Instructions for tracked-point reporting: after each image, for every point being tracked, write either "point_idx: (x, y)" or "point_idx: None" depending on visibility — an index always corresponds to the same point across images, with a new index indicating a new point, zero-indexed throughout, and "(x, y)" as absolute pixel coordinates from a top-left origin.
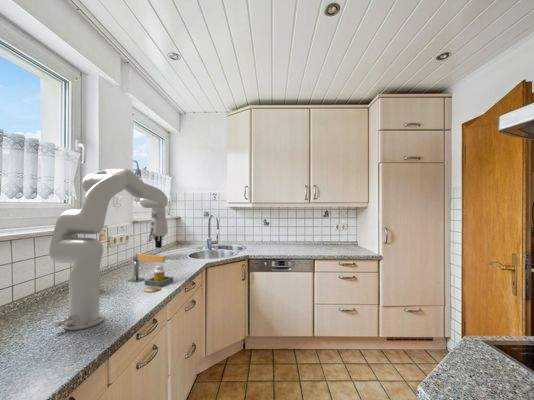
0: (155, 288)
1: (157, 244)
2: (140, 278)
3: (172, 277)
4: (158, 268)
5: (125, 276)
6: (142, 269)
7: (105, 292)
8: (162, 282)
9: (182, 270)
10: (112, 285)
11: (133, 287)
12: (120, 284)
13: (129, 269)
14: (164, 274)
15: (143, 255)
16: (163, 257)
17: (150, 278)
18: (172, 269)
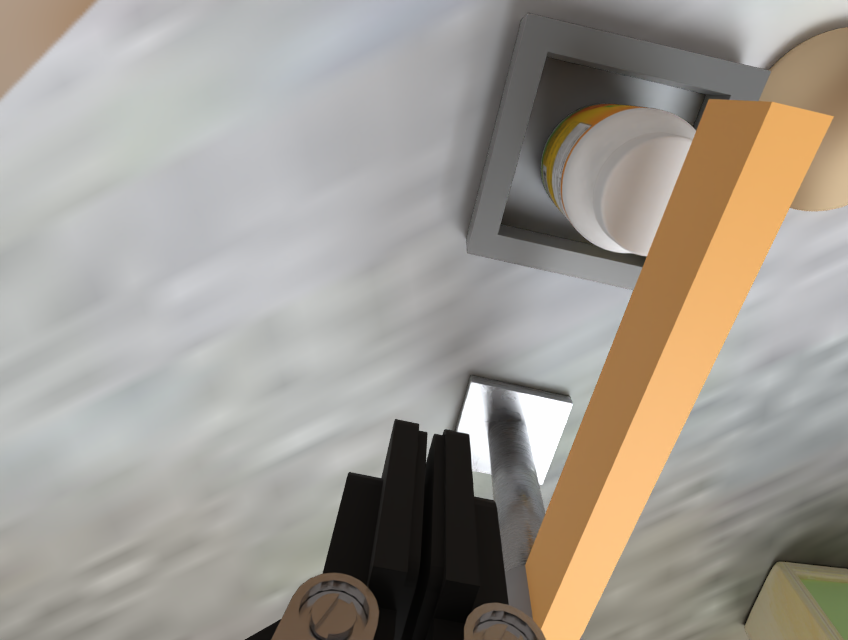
0: (836, 90)
1: (494, 547)
2: (484, 409)
3: (543, 18)
4: None
5: None
6: (161, 537)
7: (836, 484)
8: (735, 64)
9: (41, 131)
10: (650, 526)
11: None
12: None
13: (196, 622)
14: (615, 108)
15: (615, 554)
16: (813, 114)
17: (592, 278)
18: (52, 273)
